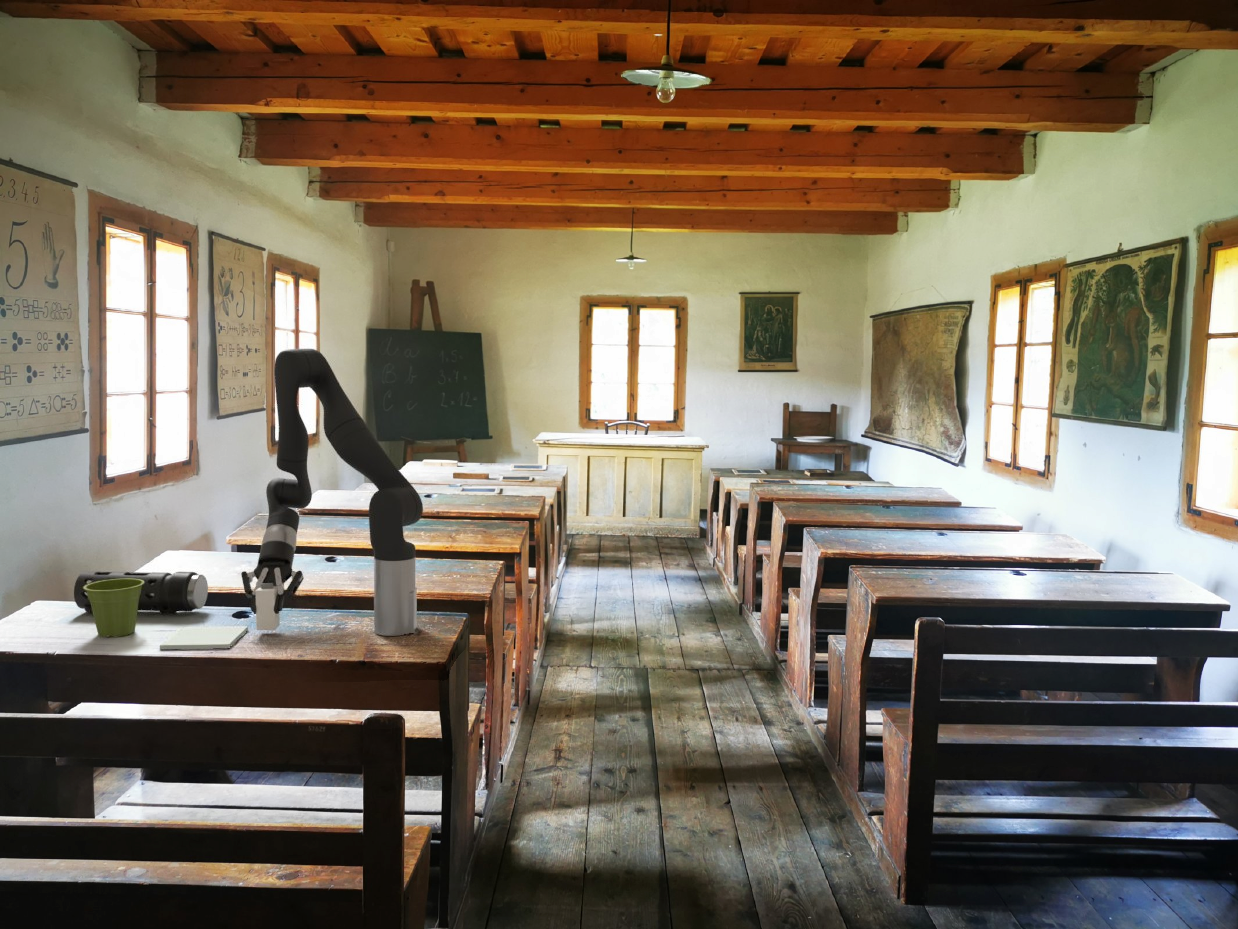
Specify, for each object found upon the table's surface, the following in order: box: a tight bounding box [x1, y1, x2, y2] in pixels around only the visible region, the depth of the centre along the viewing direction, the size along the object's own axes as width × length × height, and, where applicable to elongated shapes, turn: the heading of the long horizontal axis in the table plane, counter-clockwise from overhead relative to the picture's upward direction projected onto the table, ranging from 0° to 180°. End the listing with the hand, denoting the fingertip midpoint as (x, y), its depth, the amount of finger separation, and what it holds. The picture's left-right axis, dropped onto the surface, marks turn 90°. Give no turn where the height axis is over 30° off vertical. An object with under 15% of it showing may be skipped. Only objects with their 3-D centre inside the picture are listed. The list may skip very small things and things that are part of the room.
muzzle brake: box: [73, 570, 209, 615], centre depth 218 cm, size 10×28×10 cm, turn 91°
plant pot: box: [83, 578, 144, 638], centre depth 200 cm, size 12×12×11 cm
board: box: [159, 625, 249, 650], centre depth 198 cm, size 14×14×1 cm
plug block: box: [255, 583, 281, 631], centre depth 202 cm, size 4×4×10 cm
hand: (265, 611), depth 201 cm, fingers closed on plug block, 4 cm apart
